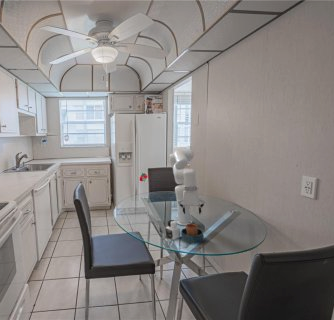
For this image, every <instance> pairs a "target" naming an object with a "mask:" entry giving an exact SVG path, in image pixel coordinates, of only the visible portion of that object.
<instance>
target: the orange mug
mask: <svg viewBox="0 0 334 320" xmlns="http://www.w3.org/2000/svg"><path fill="white" fill-rule="evenodd" d="M185 228H186V232H187V235H190V236H197V235H198V229H199V228H198V225H197V224H195V223H191V224H187V225H185ZM197 228H198V229H197Z"/></svg>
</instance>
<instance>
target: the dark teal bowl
mask: <svg viewBox="0 0 334 320" xmlns="http://www.w3.org/2000/svg"><path fill="white" fill-rule="evenodd" d="M197 229H198V235H197V236H190V235H187V232H186V227H185V228H182V229H180V238H181V240H182V241H183V242H185V243H188V244H200V243H203V242H204V240H205V237H204V230H202V229H200V228H199V227H197ZM203 239H204V240H203Z"/></svg>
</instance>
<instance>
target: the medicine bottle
mask: <svg viewBox="0 0 334 320" xmlns="http://www.w3.org/2000/svg"><path fill="white" fill-rule="evenodd" d="M165 236H166V237H167V238H168V239H171V241H172V240H176V239H179V238H181V229H180V227H178V225H177V220H175V219H170V220H168V221H167V226H165Z"/></svg>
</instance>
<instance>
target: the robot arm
mask: <svg viewBox="0 0 334 320" xmlns="http://www.w3.org/2000/svg"><path fill="white" fill-rule="evenodd" d="M168 159H169V163H170V165H171V168H172V173H173V176H174V182H175V183H176V184H177V185H176V186H175V188H174V193H175V198H176V207H177V215H175V216H174V217H175V218H174V219H176V222H177V224H178V225H180V226H186V225H187V224H191V223H192V224H194V222H193V220H191V210H190V207H198V215H201V214H202V208H203V207H204V206H205V204H206V201H205V200H203V199H201V198H200V196H199V191H198V190H199V186H198V185H197V179H196V171H195V170H194V169H193V168H186V167H187V166H188V165H189V162H191V161H192V160H193V159H194V152H193V149H191V148H184V149H177V150H175V151H174V152H172V153H170V154H169V155H168ZM200 202H201V204H200Z"/></svg>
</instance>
